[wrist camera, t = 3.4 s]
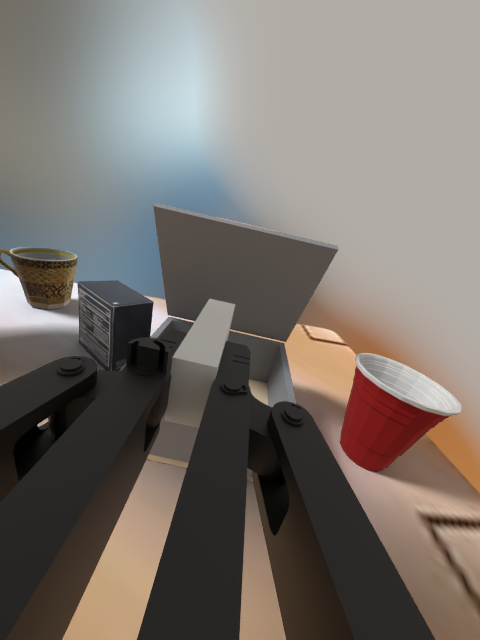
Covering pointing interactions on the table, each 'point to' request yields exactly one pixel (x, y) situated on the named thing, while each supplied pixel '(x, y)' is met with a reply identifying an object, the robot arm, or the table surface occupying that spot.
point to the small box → (111, 320)
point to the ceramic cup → (44, 275)
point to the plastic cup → (390, 410)
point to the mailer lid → (238, 270)
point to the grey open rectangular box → (264, 381)
